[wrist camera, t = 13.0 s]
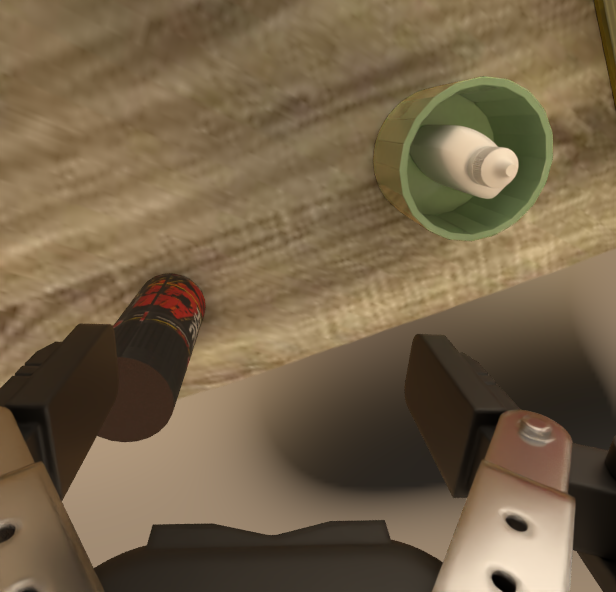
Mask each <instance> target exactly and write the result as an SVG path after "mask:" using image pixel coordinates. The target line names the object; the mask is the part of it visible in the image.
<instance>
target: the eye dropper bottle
mask: <svg viewBox="0 0 616 592" xmlns="http://www.w3.org/2000/svg"><path fill="white" fill-rule="evenodd" d="M409 152H410V154H411V156H412V158H413V160H414V162H415V163H416V165H417V166H418V168H419V169H420V170H421V171H422V172H423V173H424V174H425V175H426V176H428V177H429V178H430V179H432V180H433V181H435V182H437V183H439V184H441V185H444V186H447V187H450V188H453V189H456V190H459V191H461V192H464V193H467V194H470V195H473V196H477V197H480V198H485V199H490V198H493V197H495V196H496V195H497V194H498V193H499V192H500V191H501V190H502V189H503V188H504V187H505V186H506V185H508V184H509V183H510V182H511V181H512V180H513V179H514V177H515V176H516V174H517V171H518V165H519V164H518V158H517V157H516V155H515V153H514V152H513V151H512V150H511V149H507V148H504V147H498V146H497V145H496V144H495V143H494V142H493V141H492V140H490V139H489V138H488V137H486V136H485V135H483V134H482V133H480V132H478V131H476V130H473V129H471V128H467V127H463V126H456V125H424V126H422V127H421V128H420V129H419V130H418V131H417V133H416V135H415V137H414V139H413V141H412V143H411V145H410V151H409Z"/></svg>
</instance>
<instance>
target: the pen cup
mask: <svg viewBox="0 0 616 592" xmlns="http://www.w3.org/2000/svg"><path fill="white" fill-rule="evenodd" d="M424 125H456V126H463V127H467V128H471V129H473V130H476V131H478V132H480V133H482V134H483V135H485V136H486V137H488V138H489V139H490V140H492V141H493V142H494V143H495V144H496V145H497V146H498V147H504V148H507V149H511V150H512V151H513V152H514V153H515V155H516V157H517V158H518V164H519V165H518V171H517V174H516V176H515V177H514V179H513V180H512V181H511V182H510V183H509V184H508V185H506V186H505V187H504V188H503V189H502V190H501V191H500V192H499V193H498V194H497V195H496V196H495V197H493V198H490V199H485V198H480V197H477V196H473V195H470V194H467V193H464V192H461V191H459V190H456V189H453V188H450V187H447V186H444V185H441V184H439V183H437V182H435V181H433V180H432V179H430V178H429V177H428V176H426V175H425V174H424V173H423V172H422V171H421V170H420V169H419V168H418V166H417V165H416V163H415V162H414V160H413V158H412V156H411V154H410V152H409V151H410V145H411V143H412V141H413V139H414V137H415V135H416V133H417V131H418V130H419V129H420V128H421V127H422V126H424ZM552 160H553V133H552V130H551V127H550V124H549V121H548V118H547V115H546V112H545V110H544V108H543V107H542V106H541V104H540V103H539V102H538V101H537V100H536V98H535V97H534V96H533V95H532V93H531V92H530V91H529V90H527V89H525V88H523V87H522V86H520V85H518V84H516V83H514V82H512V81H511V80H509V79H503V78H495V77H486V76H482V77H477V78H472V79H468V80H463V81H459V82H454V83H450V84H445V85H440V86H436V87H432V88H428V89H424V90H420V91H418V92H417V93H414V94H413V95H411V96H409V97H407V98H406V99H405V100H403V101H402V102H401V103H399V104H398V105H397V106H396V107H395V108H394V109H393V110H392V112H391V113H390V114H389V115H388V117H387V118H386V120H385V121H384V123H383V125H382V127H381V129H380V131H379V133H378V136H377V139H376V143H375V148H374V156H373V164H374V172H375V177H376V180H377V184H378V186H379V188H380V190H381V192H382V193H383V195H384V197H385V198H386V199H387V200H388V201H389V203H390V204H391V205H393V206H394V207H395V208H396V209H397V210H398V211H399V212H401V213H402V214H404V215H405V216H407V217H408V218H410V219H412V220H413V221H415V222H416V223H418V224H419V225H421V226H422V227H424V228H425V229H427V230H428V231H430V232H432V233H435V234H437V235H439V236H442V237H444V238H446V239H449V240H461V241H474V240H478V239H482V238H486V237H490V236H494V235H496V234H498V233H499V232H501V231H503V230H505V229H506V228H508V227H510V226H511V225H513V224H515V223H516V222H517V221H518V220H519V219H520V218H521V217H522V216H523V215H524V214H525V213H526V212H527V211H528V210H529V209H530V208H531V207H532V206H533V205H534V203H535V201H536V200H537V198H538V196H539V194H540V193H541V191H542V189H543V188H544V186H545V184H546V182H547V178H548V174H549V171H550V167H551V163H552Z"/></svg>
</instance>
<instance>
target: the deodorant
mask: <svg viewBox="0 0 616 592" xmlns="http://www.w3.org/2000/svg"><path fill="white" fill-rule="evenodd" d="M205 308H206V307H205V299H204V296H203V294H202V291H201V290H200V289H199V287H198V286H197V285H196V284H195V283H194V282H192V281H191V280H190V279H188V278H186V277H183V276H181V275H176V274H162V275H159V276H155V277H154V278H152V279H150V280H149V281H148V282H147V283H146V284H145V285H144V286H143V287H142V288H141V290H140V291H139V292H138V294H137V295H136V296H135V298H134V299H133V300H132V302H131V303H130V304H129V306H128V307H127V308H126V310H125V311H124V312H123V314H122V315H121V316H120V318H119V319H118V320H117V322H116V323H115V324H114V325H113V328H114V332H115V341H116V352H117V363H118V374H119V387H118V394H117V398H116V400H115V403H114V405H113V407H112V408H111V410H110V412H109V414H108V416H107V418H106V420H105V422H104V423H103V425H102V427H101V429H100V431H99V433H98V435H97V436H99V437H102V438H105V439H108V440H111V441H119V442H133V441H139V440H143V439H146V438H149V437H151V436H153V435H154V434H156V433H158V432H159V431H160V430H161V429H162V428H163V427H164V426H165V425H166V424H167V423H168V421H169V419H170V417H171V415H172V412H173V410H174V407H175V404H176V401H177V397H178V394H179V391H180V388H181V385H182V382H183V379H184V376H185V373H186V370H187V366H188V363H189V360H190V357H191V354H192V351H193V348H194V345H195V342H196V338H197V335H198V332H199V329H200V326H201V323H202V320H203V317H204V313H205Z"/></svg>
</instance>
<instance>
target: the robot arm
mask: <svg viewBox="0 0 616 592" xmlns="http://www.w3.org/2000/svg"><path fill="white" fill-rule="evenodd" d="M118 387H119V374H118V363H117V352H116V341H115V332H114V328H113V326H112V325H110V324H78V325H77V326H76V327H75V328H74V330H73V331H72V332H71V333H70V334H69V335H68V336H67V337H66V338H65V339H64V340H63V342H54V343H52V344H50V345H48V346H47V347H45V348H43V349H41V350H39V351H37V352H36V353H35V354H34V355H33V356H32V357H31V358H30V359H29V360H28V361H27V362H26V363H25V366H22V367H21V368H20V369H19V370H18V371H17V372H16V373H15V376H12V377H11V378H10V379H9V380H8V381H7V382H6V383H5V384H4V385H3V386H2V387H1V388H0V592H570V582H571V567H572V551H573V550H575V551H577V553H578V554H579V556H580V557H581V559H582V560H583V562H584V563H585V565H586V566H587V568H588V570H589V571H590V572H591V574H592V575H593V577H594V579H595V580H596V582H597V583H598V585H599V586H600V588H601V589H602V591H603V592H616V436H615V437H614V439H613V441H612V444H611V447H610V449H609V451H608V450H603V449H598V448H593V447H589V446H584V445H579V444H575V443H572V439H571V436H570V435H569V433H568V432H567V431H566V430H565V429H564V428H563V427H562V426H561V425H559V424H558V423H556V422H554V421H553V420H551V419H549V418H547V417H545V416H543V415H540V414H537V413H534V412H530V411H525V410H520V409H519V408H518V406H517V405H516V404H515V403H514V402H513V401H512V400H511V399H510V398H509V396H508V395H507V394H506V393H505V392H504V391H503V390H502V388H501V387H500V386H499V385H496V382H495V381H494V380H493V378H492V377H491V376H489V375H488V373H487V372H486V370H485V369H484V368H483V367H482V366H481V365H480V364H479V362H477V361H475V360H474V359H472V358H471V357H469V356H467V355H466V354H464V353H459V352H458V350H457V349H456V348H455V347H454V346H453V344H452V343H451V342H450V341H449V340H448V339H447V337H446V336H444V335H428V334H417V335H415V337H414V339H413V342H412V347H411V353H410V358H409V364H408V369H407V375H406V380H405V400H406V404H407V406H408V409H409V411H410V413H411V414H412V417H413V418H414V421H415V422H416V425H417V427H418V429H419V430H420V433H421V435H422V437H423V439H424V441H425V443H426V444H427V447H428V448H429V450H430V453H431V455H432V457H433V459H434V460H435V463H436V465H437V467H438V468H439V471H440V473H441V474H442V477H443V479H444V481H445V483H446V485H447V487H448V489H449V491H450V493H451V495H452V496H453V497H454V498H460V497H461V498H465V497H466V498H467V500H466V503H465V505H464V508H463V510H462V513H461V516H460V519H459V521H458V524H457V527H456V529H455V532H454V534H453V537H452V540H451V543H450V545H449V548H448V550H447V553H446V556H445V558H444V561H443V562H441V561H440V560H438V559H437V558H435V557H433V556H432V555H430V554H428V553H426V552H424V551H422V550H420V549H418V548H415V547H413V546H411V545H408V544H405V543H402V542H398V541H395V540H391V539H390V536H389V533H388V529H387V526H386V523H385V520H372V521H371V520H369V521H329V522H325V523H321V524H318V525H314V526H310V527H306V528H302V529H298V530H294V531H291V532H287V533H282V534H279V535H265V534H260V533H255V532H250V531H245V530H241V529H236V528H231V527H227V526H221V525H217V524H166V525H165V524H163V525H153V526H152V530H151V533H150V537H149V540H148V544H147V545H146V546H143V547H139V548H136V549H133V550H130V551H128V552H125V553H122V554H120V555H118V556H116V557H114V558H111V559H109V560H107V561H106V562H104V563H102V564H100V565H98V566H97V567H95V568H93V566H92V564H91V562H90V560H89V558H88V556H87V554H86V551H85V549H84V547H83V545H82V543H81V541H80V539H79V537H78V535H77V533H76V531H75V529H74V526H73V524H72V522H71V520H70V518H69V516H68V514H67V512H66V510H65V508H64V505H63V503H62V500H63V498H64V496H65V494H66V493H67V491H68V489H69V487H70V485H71V483H72V481H73V480H74V478H75V476H76V474H77V472H78V470H79V468H80V466H81V465H82V463H83V461H84V459H85V457H86V455H87V453H88V451H89V450H90V448H91V446H92V444H93V442H94V440H95V438H96V436H97V435H98V433H99V431H100V429H101V427H102V425H103V423H104V422H105V420H106V418H107V416H108V414H109V412H110V410H111V408H112V407H113V405H114V403H115V400H116V398H117V394H118Z"/></svg>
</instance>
